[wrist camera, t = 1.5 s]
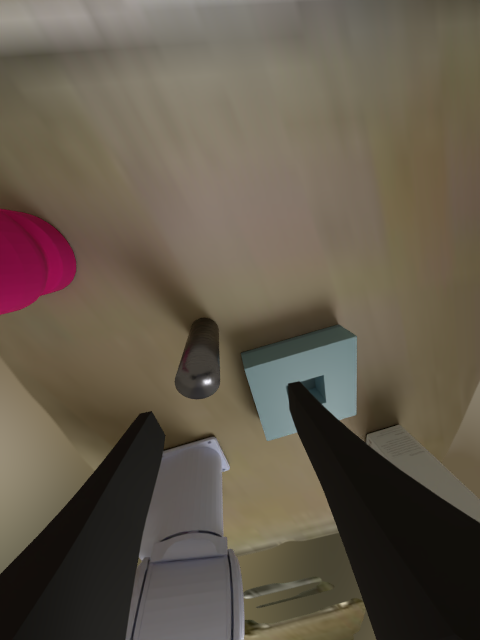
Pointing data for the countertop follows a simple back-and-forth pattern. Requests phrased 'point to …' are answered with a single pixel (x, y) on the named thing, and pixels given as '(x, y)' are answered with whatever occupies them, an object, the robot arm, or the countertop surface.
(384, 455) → the skincare box
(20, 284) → the pepper mill
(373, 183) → the countertop surface
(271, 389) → the socket block
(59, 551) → the robot arm
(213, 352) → the metal peg
